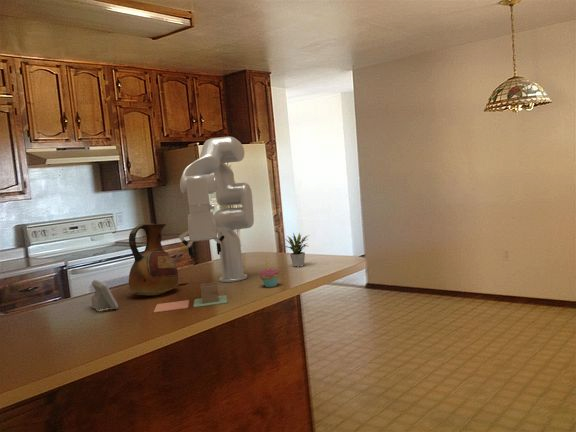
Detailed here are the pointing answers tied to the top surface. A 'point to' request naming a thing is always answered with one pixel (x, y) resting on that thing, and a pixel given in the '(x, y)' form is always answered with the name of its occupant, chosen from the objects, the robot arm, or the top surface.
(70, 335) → the top surface
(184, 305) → the mat
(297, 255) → the house plant
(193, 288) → the top surface
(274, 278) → the cupcake
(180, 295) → the top surface
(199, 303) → the mat
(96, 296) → the digital clock
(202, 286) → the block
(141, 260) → the ceramic pitcher
